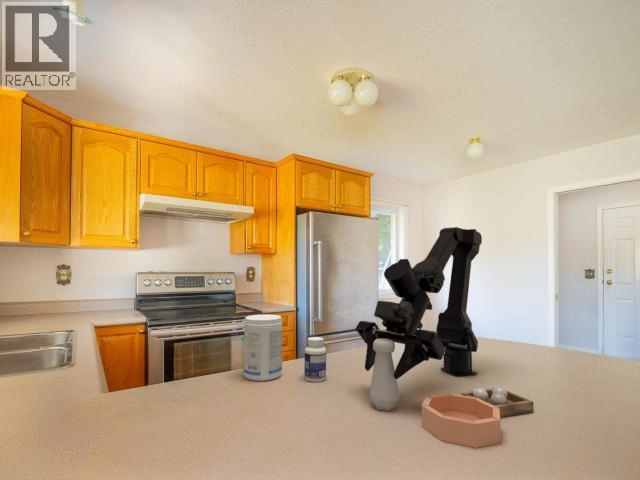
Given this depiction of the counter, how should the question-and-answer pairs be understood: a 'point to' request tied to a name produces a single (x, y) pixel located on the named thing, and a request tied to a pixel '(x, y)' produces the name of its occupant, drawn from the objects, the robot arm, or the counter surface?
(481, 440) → the bowl
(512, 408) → the pebble tray
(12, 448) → the counter surface
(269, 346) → the supplement tub
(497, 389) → the white ball
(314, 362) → the pill bottle
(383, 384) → the salt shaker
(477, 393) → the pebble
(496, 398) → the pebble
